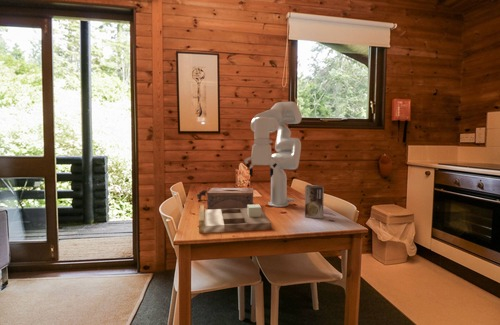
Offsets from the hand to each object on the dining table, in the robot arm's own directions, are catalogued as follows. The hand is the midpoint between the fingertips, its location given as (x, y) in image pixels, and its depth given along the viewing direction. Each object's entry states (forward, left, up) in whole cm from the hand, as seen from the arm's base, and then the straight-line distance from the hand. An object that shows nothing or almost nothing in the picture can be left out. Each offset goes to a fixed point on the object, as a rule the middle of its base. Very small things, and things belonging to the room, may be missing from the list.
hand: (261, 176), depth 140 cm
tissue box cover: (+13, -27, -22) cm, 37 cm away
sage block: (+4, +3, -19) cm, 19 cm away
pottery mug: (+27, -45, -22) cm, 57 cm away
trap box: (+15, +3, -22) cm, 26 cm away
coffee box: (-28, 0, -22) cm, 36 cm away
